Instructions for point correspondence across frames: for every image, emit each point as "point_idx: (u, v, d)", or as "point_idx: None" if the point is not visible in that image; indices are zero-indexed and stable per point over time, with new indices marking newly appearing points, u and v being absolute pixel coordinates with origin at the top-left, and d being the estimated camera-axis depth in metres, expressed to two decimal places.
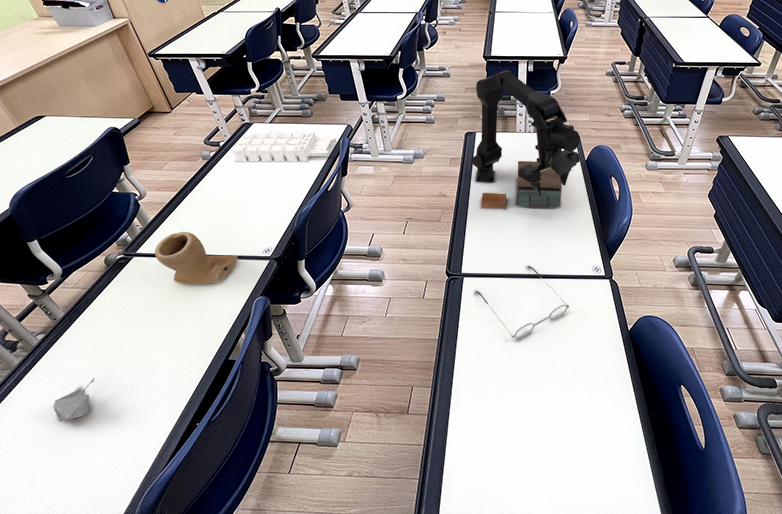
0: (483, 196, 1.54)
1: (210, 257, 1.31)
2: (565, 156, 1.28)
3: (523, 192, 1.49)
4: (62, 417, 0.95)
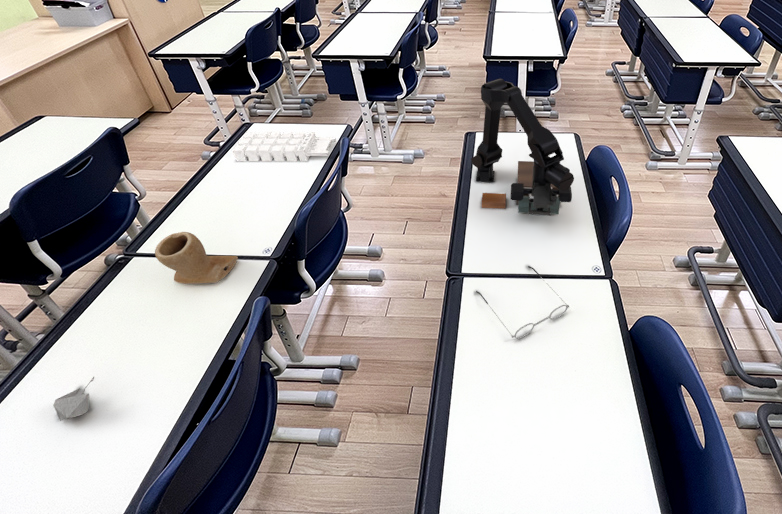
0: (483, 196, 1.54)
1: (210, 257, 1.31)
2: (548, 193, 1.35)
3: (523, 198, 1.47)
4: (62, 416, 0.95)
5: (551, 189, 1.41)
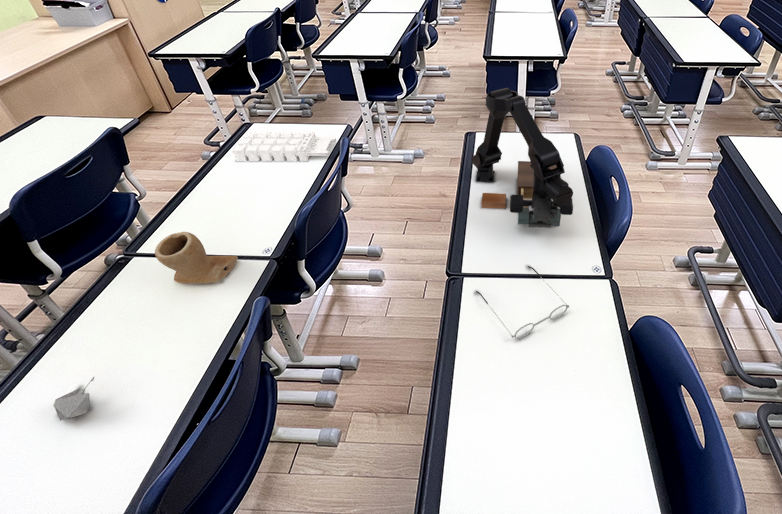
0: (483, 196, 1.54)
1: (210, 257, 1.31)
2: (548, 206, 1.30)
3: (523, 210, 1.42)
4: (62, 416, 0.95)
5: (552, 201, 1.37)
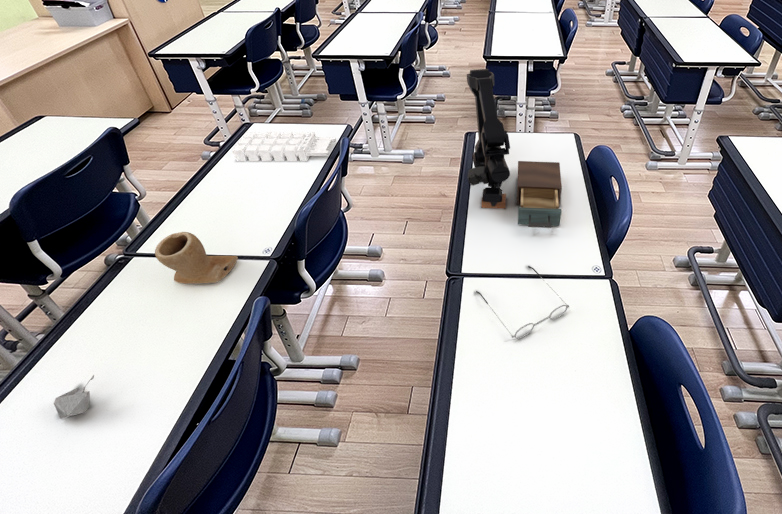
0: None
1: (210, 257, 1.31)
2: (476, 174, 1.46)
3: (523, 210, 1.42)
4: (63, 414, 0.95)
5: (494, 184, 1.46)
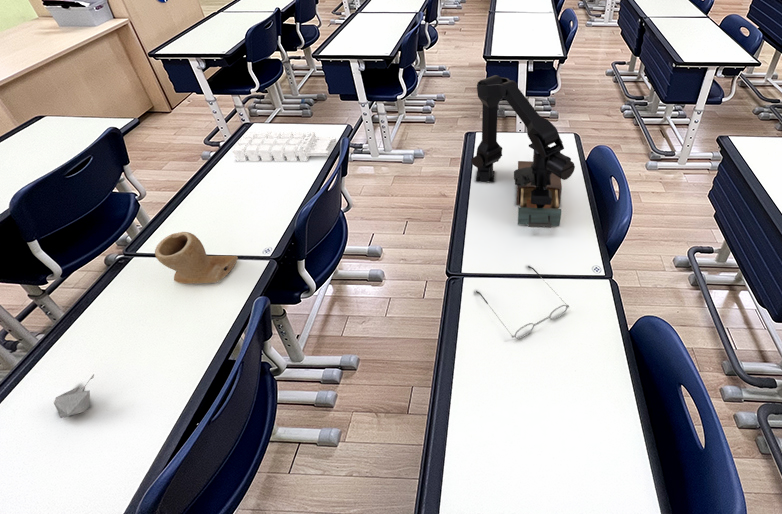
0: (527, 203, 1.49)
1: (210, 257, 1.31)
2: (523, 175, 1.39)
3: (523, 210, 1.42)
4: (63, 413, 0.95)
5: (542, 186, 1.39)
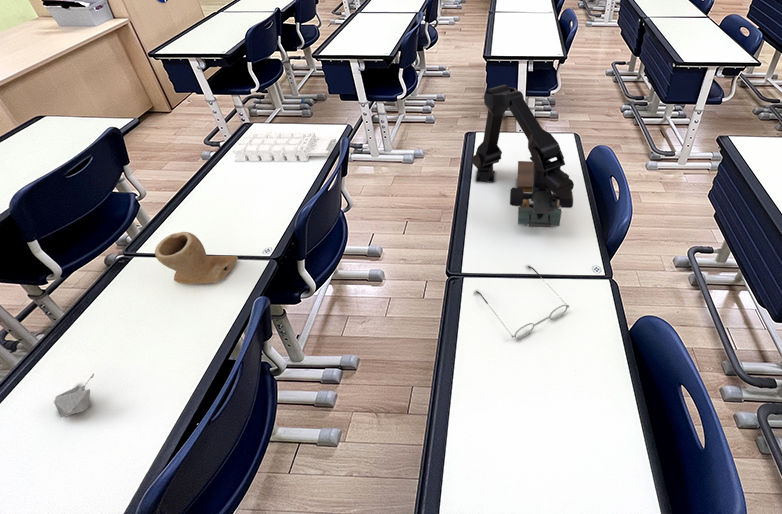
0: (527, 202, 1.49)
1: (210, 257, 1.31)
2: (548, 199, 1.30)
3: (523, 210, 1.42)
4: (64, 412, 0.95)
5: (552, 194, 1.36)
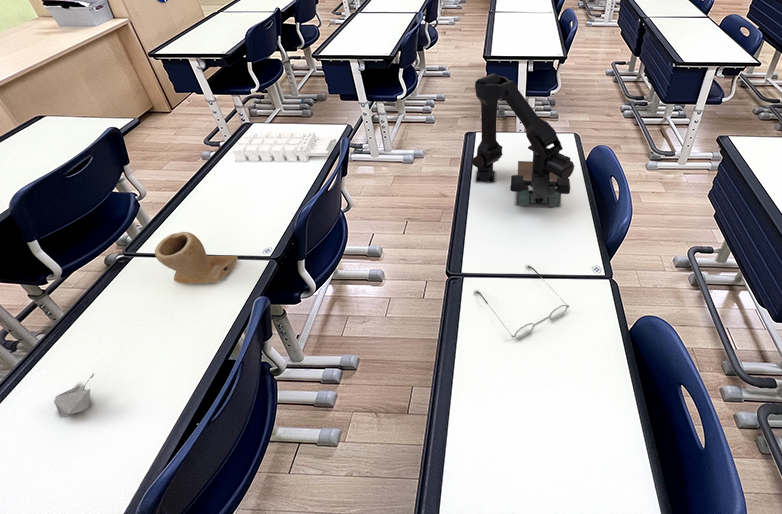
0: None
1: (210, 257, 1.31)
2: (546, 184, 1.38)
3: (523, 191, 1.50)
4: (64, 412, 0.95)
5: (550, 181, 1.45)
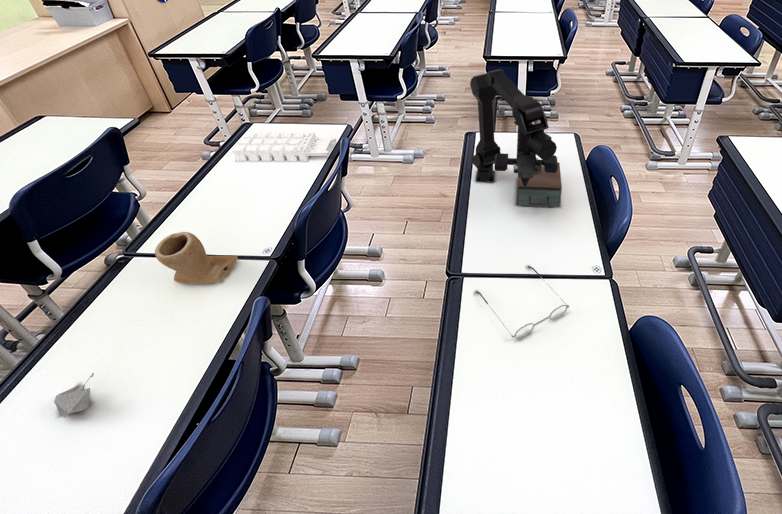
0: None
1: (210, 257, 1.31)
2: (532, 163, 1.30)
3: (523, 191, 1.50)
4: (64, 411, 0.96)
5: (536, 159, 1.36)
